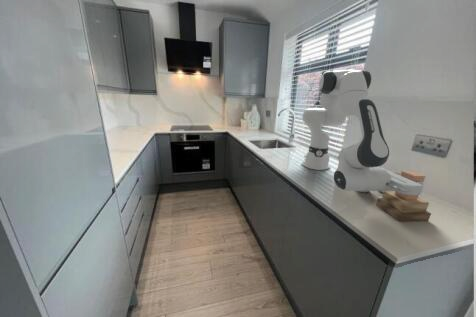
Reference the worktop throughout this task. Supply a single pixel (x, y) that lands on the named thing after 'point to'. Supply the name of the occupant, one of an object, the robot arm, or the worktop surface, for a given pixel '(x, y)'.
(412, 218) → the tower base
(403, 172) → the tall block
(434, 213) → the worktop surface
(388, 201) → the tower top
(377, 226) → the worktop surface
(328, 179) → the worktop surface
